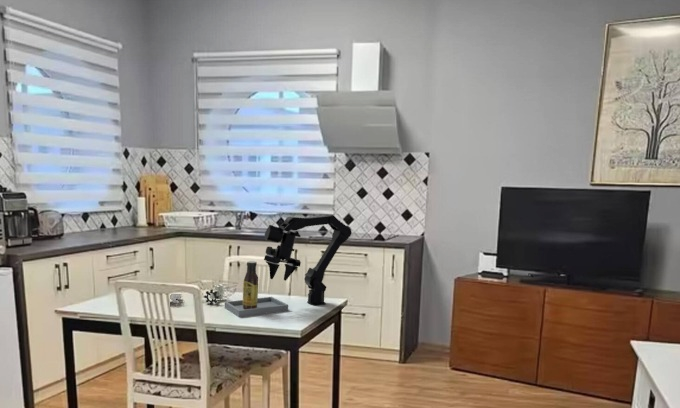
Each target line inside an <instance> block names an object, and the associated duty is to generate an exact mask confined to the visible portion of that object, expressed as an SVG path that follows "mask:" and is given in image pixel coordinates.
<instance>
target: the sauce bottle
mask: <svg viewBox="0 0 680 408" xmlns="http://www.w3.org/2000/svg"><path fill="white" fill-rule="evenodd" d="M256 268H257V261H254V260H249V261H247V262H246V273H245V276H244V279H243V281H242V282H243V286H242V300H243V308H244V309H254V308H257V300H258V298H259V276H258V274H257V269H256Z"/></svg>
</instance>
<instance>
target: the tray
mask: <svg viewBox="0 0 680 408" xmlns="http://www.w3.org/2000/svg"><path fill="white" fill-rule="evenodd" d="M224 308H225V309H226V310H227V311H229V312H230V313H232V314H234V315H235V316H237V317H238V318H243V317H250V316H257V315H264V314H265V315H266V314H272V313H279V312H287V311H289V304H288V303H285V302H283V301H281V300H280V299H277V298H275V297H273V296H265V297H258V300H257V308H254V309H244V308H243V299H239V300H229V301H224Z"/></svg>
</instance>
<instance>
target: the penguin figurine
mask: <svg viewBox="0 0 680 408" xmlns="http://www.w3.org/2000/svg"><path fill="white" fill-rule="evenodd" d="M182 298H183V296H182V294H171V295H170V299H171V302H172V303H174V304H175V305H176V304H177V305H178V304H179V303H180V300H181V299H182ZM176 299H177V300H176Z"/></svg>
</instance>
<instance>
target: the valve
mask: <svg viewBox="0 0 680 408" xmlns="http://www.w3.org/2000/svg"><path fill="white" fill-rule="evenodd" d="M224 292H225V291H224V285H223V284H215V285H214V289H210V290H206V291H205V294H206V295H204V296H203V298H204V299H206V300H205V303H209V305H213V304H214V303H215V304H216V303H218V300H216V299H222V300H224V294H225V293H224Z"/></svg>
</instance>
